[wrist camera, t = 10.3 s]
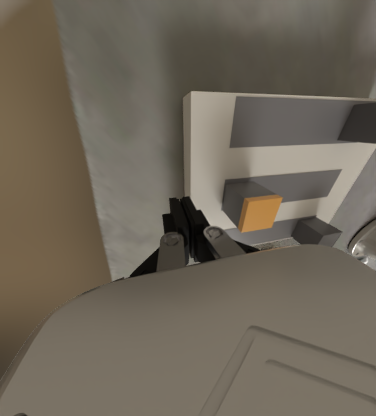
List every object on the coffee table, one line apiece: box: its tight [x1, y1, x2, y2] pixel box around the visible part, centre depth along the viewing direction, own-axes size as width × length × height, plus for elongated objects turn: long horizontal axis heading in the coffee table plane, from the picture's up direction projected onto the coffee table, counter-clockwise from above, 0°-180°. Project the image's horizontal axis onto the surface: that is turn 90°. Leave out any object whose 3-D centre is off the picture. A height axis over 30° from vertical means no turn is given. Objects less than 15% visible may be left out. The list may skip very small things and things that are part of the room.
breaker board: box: [183, 91, 376, 255], centre depth 16 cm, size 22×17×6 cm
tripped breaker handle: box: [222, 181, 283, 233], centre depth 13 cm, size 3×3×4 cm
